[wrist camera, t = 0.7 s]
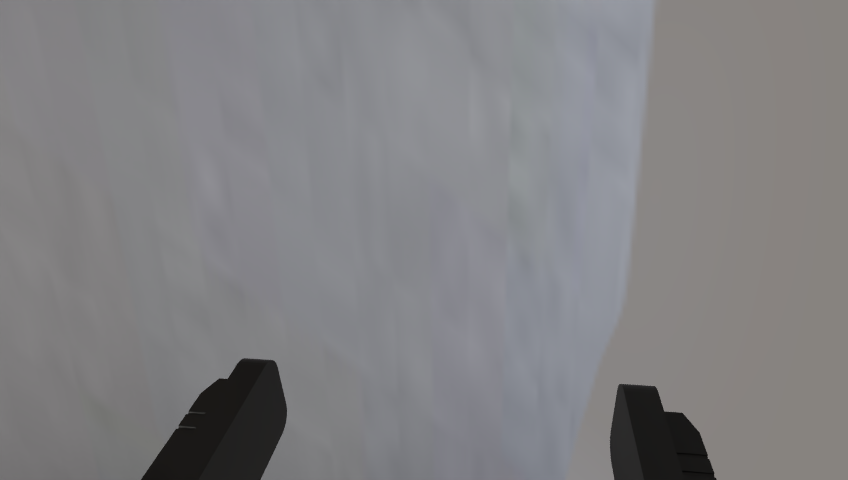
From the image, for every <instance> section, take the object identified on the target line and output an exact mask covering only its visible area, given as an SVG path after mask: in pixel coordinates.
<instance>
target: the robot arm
mask: <svg viewBox="0 0 848 480" xmlns="http://www.w3.org/2000/svg"><path fill="white" fill-rule="evenodd" d="M286 417H287V406H286V401H285V397H284V393H283V389H282V384H281V380H280V376H279V371H278V367H277V364H276V362H275V361H273V360H261V359H246V358H244V359H242V360H240V361H239V363H238V364H237V366H236V367H235V369H234V370H233V372H232V373H231V375H230V376H229V378H228V379H220V378H219V379H218V380H217V381H216V382H214V383H213V384H212V385H211V386H209V387H208V388H207V389H206V390H204V391H203V392H202V393H201V394H200V395H199V397H198V398H197V400H196V401H195V402H194V404H193V405H192V407H191V408H190V410H189V413H188V414H186V415H185V417H184V418H183V420H182V421H181V423H180V424H179V428H178V429H176V430H175V431H174V433H173V434H172V436H171V437H170V439H169V440H168V441H167V443H166V444H165V446H164V447H163V449H162V450H161V452H160V453H159V454H158V456H157V457H156V459H155V460H154V462H153V463H152V465H151V466H150V467H149V469H148V470H147V472H146V473H145V475H144V476H143V478H142V479H141V480H260V479H261V477H262V475H263V473H264V471H265V469H266V467H267V465H268V463H269V460H270V458H271V456H272V454H273V452H274V450H275V448H276V446H277V444H278V441H279V439H280V437H281V435H282V433H283V430H284V427H285V424H286ZM610 452H611V462H612V468H613V474H614V480H716V478H715V477H714V471H713V469H712V466H711V463H710V461H709V459H708V457H707V456H708V455H707V452H706V449H705V446H704V444H703V441H702V438H701V436H700V433H699V432H698V431H697V429H696V428H695V427H694V426H693V425H692V424H691V422H690V421H689V420H688V419H687V418H686V417H685V415H684V414H683V413H676V412H664V410H663V406H662V403H661V400H660V397H659V394H658V390H657V388H656V387H655V386H642V385H628V384H627V385H626V384H619V386H618V390H617V395H616V402H615V408H614V415H613V421H612V428H611V436H610Z"/></svg>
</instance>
